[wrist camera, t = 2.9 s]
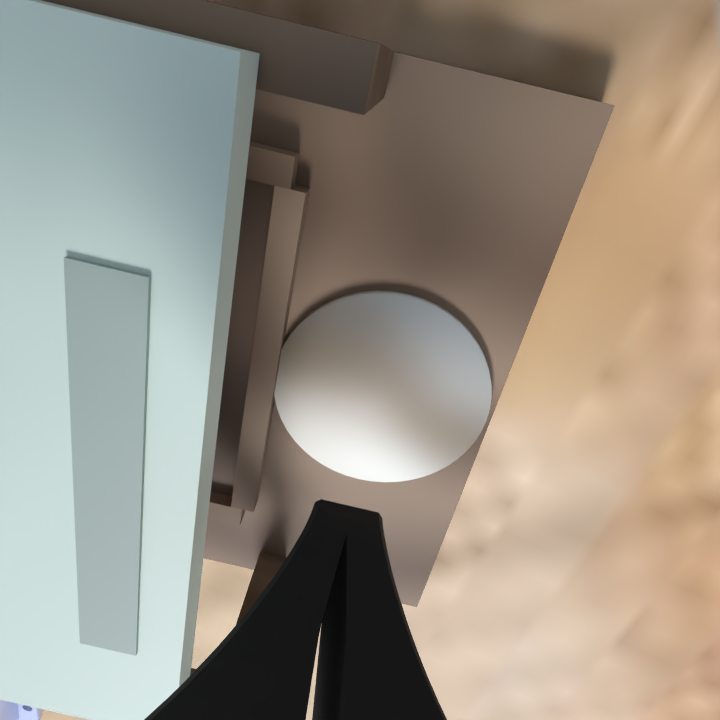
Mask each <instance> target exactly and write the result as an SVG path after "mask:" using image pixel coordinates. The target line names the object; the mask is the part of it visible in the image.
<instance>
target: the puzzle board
mask: <svg viewBox="0 0 720 720" xmlns="http://www.w3.org/2000/svg"><path fill="white" fill-rule="evenodd" d="M42 1H46V2H50V3H54V4H58V5H62V6H67V7H71V8H75V9H79V10H83V11H87V12H91V13H95V14H100V15H104V16H108V17H112V18H116V19H120V20H124V21H128V22H133V23H137V24H141V25H145V26H149V27H153V28H157V29H161V30H165V31H170V32H174V33H178V34H182V35H186V36H190V37H194V38H198V39H203V40H207V41H211V42H215V43H219V44H223V45H227V46H231V47H236V48H240V49H244V50H248V51H252V52H256V53H260V56H259V64H258V73H257V82H256V91H255V100H254V109H253V118H252V127H251V136H250V145H249V154H248V163H247V172H246V181H245V190H244V199H243V207H242V216H241V225H240V234H239V243H238V252H237V261H236V270H235V279H234V288H233V297H232V306H231V315H230V324H229V333H228V342H227V350H226V359H225V368H224V377H223V386H222V395H221V404H220V413H219V422H218V431H217V440H216V449H215V458H214V467H213V476H212V485H211V493H210V502H209V511H208V520H207V529H206V538H205V547H204V556H203V558H205V559H210V560H214V561H218V562H223V563H227V564H232V565H236V566H240V567H245V568H249V569H253V570H254V572H253V575H252V578H251V581H250V584H249V587H248V590H247V593H246V596H245V600H244V603H243V606H242V609H241V612H240V615H239V618H238V621H237V624H238V623H239V622H240V620H241V619H242V618H243V617H244V615H245V614H246V613H247V612H248V610H249V609H250V608H251V607H252V605H253V604H254V603H255V601H256V600H257V599H258V597H259V596H260V595H261V593H262V592H263V591H264V589H265V588H266V587H267V585H268V584H269V583H270V581H271V580H272V579H273V577H274V576H275V574H276V573H277V571H278V570H279V568H280V567H281V565H282V564H283V562H284V561H285V559H286V558H287V556H288V555H289V553H290V552H291V550H292V548H293V547H294V545H295V543H296V542H297V540H298V538H299V536H300V535H301V533H302V531H303V529H304V527H305V525H306V523H307V521H308V519H309V517H310V514H311V512H312V509H313V506H314V503H315V502H316V501H318V500H320V499H323V500H327V501H331V502H336V503H340V504H344V505H349V506H353V507H357V508H362V509H366V510H370V511H374V512H379V514H380V515H381V517H382V521H383V529H384V536H385V541H386V547H387V551H388V556H389V560H390V565H391V569H392V573H393V577H394V580H395V584H396V587H397V591H398V594H399V598H400V601H401V603H402V604H406V605H411V606H415V607H417V605H418V603H419V600H420V598H421V595H422V593H423V590H424V588H425V585H426V583H427V580H428V577H429V575H430V572H431V570H432V567H433V565H434V562H435V560H436V557H437V555H438V552H439V550H440V547H441V544H442V542H443V539H444V537H445V534H446V532H447V529H448V527H449V524H450V522H451V519H452V517H453V514H454V511H455V509H456V506H457V504H458V501H459V499H460V496H461V494H462V491H463V489H464V486H465V484H466V481H467V478H468V476H469V473H470V471H471V468H472V466H473V463H474V461H475V458H476V456H477V453H478V451H479V448H480V445H481V443H482V440H483V438H484V435H485V433H486V430H487V428H488V425H489V423H490V420H491V418H492V415H493V412H494V410H495V407H496V405H497V402H498V400H499V397H500V395H501V392H502V390H503V387H504V385H505V382H506V379H507V377H508V374H509V372H510V369H511V367H512V364H513V362H514V359H515V357H516V354H517V352H518V349H519V346H520V344H521V341H522V339H523V336H524V334H525V331H526V329H527V326H528V324H529V321H530V319H531V316H532V313H533V311H534V308H535V306H536V303H537V301H538V298H539V296H540V293H541V291H542V288H543V286H544V283H545V280H546V278H547V275H548V273H549V270H550V268H551V265H552V263H553V260H554V258H555V255H556V253H557V250H558V247H559V245H560V242H561V240H562V237H563V235H564V232H565V230H566V227H567V225H568V222H569V220H570V217H571V214H572V212H573V209H574V207H575V204H576V202H577V199H578V197H579V194H580V192H581V189H582V187H583V184H584V181H585V179H586V176H587V174H588V171H589V169H590V166H591V164H592V161H593V159H594V156H595V154H596V151H597V148H598V146H599V143H600V141H601V138H602V136H603V133H604V131H605V128H606V126H607V123H608V121H609V118H610V115H611V113H612V110H613V108H614V105H610V104H606V103H602V102H598V101H594V100H590V99H586V98H582V97H578V96H574V95H569V94H565V93H561V92H557V91H553V90H549V89H545V88H541V87H537V86H532V85H528V84H524V83H520V82H516V81H512V80H508V79H504V78H500V77H496V76H491V75H487V74H483V73H479V72H475V71H471V70H467V69H463V68H459V67H454V66H450V65H446V64H442V63H438V62H434V61H430V60H426V59H422V58H418V57H413V56H409V55H405V54H401V53H397V52H393V51H392V50H390V49H388V48H386V47H385V46H383V45H381V44H379V43H376V42H372V41H368V40H364V39H360V38H356V37H352V36H347V35H343V34H339V33H335V32H331V31H327V30H323V29H319V28H315V27H311V26H306V25H302V24H298V23H294V22H290V21H286V20H282V19H278V18H274V17H270V16H265V15H261V14H257V13H253V12H249V11H245V10H241V9H237V8H233V7H228V6H224V5H220V4H216V3H212V2H208V1H204V0H42ZM237 624H236V625H237ZM195 670H196V669H193V668H191V672H190V675H191V674H192V673H193V672H194V671H195Z"/></svg>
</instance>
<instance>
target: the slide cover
mask: <svg viewBox="0 0 720 720" xmlns="http://www.w3.org/2000/svg"><path fill="white" fill-rule="evenodd" d="M259 56H260V53H256V52H252V51H248V50H244V49H240V48H236V47H231V46H227V45H223V44H219V43H215V42H211V41H207V40H203V39H198V38H194V37H190V36H186V35H182V34H178V33H174V32H170V31H165V30H161V29H157V28H153V27H149V26H145V25H141V24H137V23H133V22H128V21H124V20H120V19H116V18H112V17H108V16H104V15H100V14H95V13H91V12H87V11H83V10H79V9H75V8H71V7H67V6H62V5H58V4H54V3H50V2H46V1H42V0H0V700H4V701H8V702H13V703H17V704H22V705H26V706H31V707H35V708H39V709H44V710H48V711H53V712H57V713H62V714H66V715H71V716H75V717H80V718H84V719H89V720H144V719H145V718H146V717H148V716H149V715H150V714H151V713H152V712H153V711H154V710H155V709H156V708H157V707H158V706H160V705H161V704H162V703H163V702H164V701H165V700H166V699H167V698H168V697H169V696H170V695H171V694H172V693H173V692H174V691H175V690H177V689H178V688H179V687H180V686H181V685H182V684H183V683H184V682H185V681H186V680H187V679H188V678H189V677H190V672H191V663H192V654H193V645H194V636H195V628H196V619H197V610H198V601H199V592H200V583H201V574H202V565H203V556H204V547H205V538H206V529H207V520H208V511H209V502H210V493H211V485H212V476H213V467H214V458H215V449H216V440H217V431H218V422H219V413H220V404H221V395H222V386H223V377H224V368H225V359H226V350H227V342H228V333H229V324H230V315H231V306H232V297H233V288H234V279H235V270H236V261H237V252H238V243H239V234H240V225H241V216H242V207H243V199H244V190H245V181H246V172H247V163H248V154H249V145H250V136H251V127H252V118H253V109H254V100H255V91H256V82H257V73H258V64H259Z"/></svg>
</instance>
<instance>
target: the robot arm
mask: <svg viewBox="0 0 720 720" xmlns="http://www.w3.org/2000/svg"><path fill="white" fill-rule="evenodd" d="M321 623H322V625H321ZM320 627H321V635H320V645H319V655H318V666H317V676H316V687H315V698H314V708H313V719H312V720H447V719H446V717H445V715H444V713H443V710H442V708H441V706H440V704H439V702H438V700H437V697H436V695H435V693H434V690H433V688H432V686H431V684H430V681H429V679H428V677H427V674H426V672H425V669H424V667H423V664H422V662H421V659H420V657H419V654H418V651H417V649H416V646H415V643H414V640H413V638H412V635H411V632H410V629H409V626H408V623H407V620H406V617H405V614H404V611H403V608H402V604H401V601H400V598H399V594H398V591H397V587H396V584H395V580H394V577H393V573H392V569H391V565H390V560H389V556H388V551H387V547H386V541H385V536H384V529H383V521H382V517H381V515H380V514H379V512H374V511H370V510H366V509H362V508H357V507H353V506H349V505H344V504H340V503H336V502H331V501H327V500H323V499H320V500H318V501H316V502H315V503H314V506H313V509H312V512H311V514H310V517H309V519H308V521H307V523H306V525H305V527H304V529H303V531H302V533H301V535H300V536H299V538H298V540H297V542H296V543H295V545H294V547H293V548H292V550H291V552H290V553H289V555H288V556H287V558H286V559H285V561H284V562H283V564H282V565H281V567H280V568H279V570H278V571H277V573H276V574H275V576H274V577H273V579H272V580H271V581H270V583H269V584H268V585H267V587H266V588H265V589H264V591H263V592H262V593H261V595H260V596H259V597H258V599H257V600H256V601H255V603H254V604H253V605H252V607H251V608H250V609H249V610H248V612H247V613H246V614H245V615H244V617H243V618H242V619H241V620H240V622H239V623H238V624H237V625H236V626H235V627H234V629H233V630H232V631H231V632H230V633H229V634H228V636H227V637H226V638H225V639H224V640H223V641H222V642H221V644H220V645H219V646H218V647H217V648H216V649H215V650H214V651H213V652H212V653H211V654H210V656H209V657H208V658H207V659H206V660H205V661H204V662H203V663H202V664H201V665H200V666H199V667H198V668H197V669H196V670H195V671H194V672H193V673H192V674H191V675H190V677H189V678H188V679H187V680H186V681H185V682H184V683H183V684H182V685H181V686H180V687H179V688H178V689H177V690H175V691H174V692H173V693H172V694H171V695H170V696H169V697H168V698H167V699H166V700H165V701H164V702H163V703H162V704H161V705H160V706H158V707H157V708H156V709H155V710H154V711H153V712H152V713H151V714H150V715H149V716H148V717H146V718H145V719H144V720H305V719H306V713H307V706H308V700H309V693H310V686H311V680H312V674H313V668H314V661H315V655H316V649H317V643H318V636H319V632H320ZM41 717H42V709H39V708H35V707H31V706H26V705H22V704H17V703H13V702H8V701H4V700H0V720H40V718H41Z"/></svg>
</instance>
